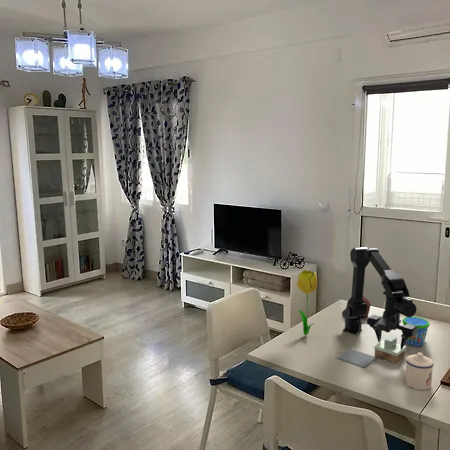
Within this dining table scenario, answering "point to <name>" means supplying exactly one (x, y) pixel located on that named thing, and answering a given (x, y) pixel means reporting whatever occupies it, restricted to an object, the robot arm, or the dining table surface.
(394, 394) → the dining table surface
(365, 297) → the muffin
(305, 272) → the flower
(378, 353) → the crate
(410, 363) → the teacup with lid
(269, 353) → the dining table surface
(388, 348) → the lid
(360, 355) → the mat
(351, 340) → the dining table surface
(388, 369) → the dining table surface
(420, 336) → the snack cup
